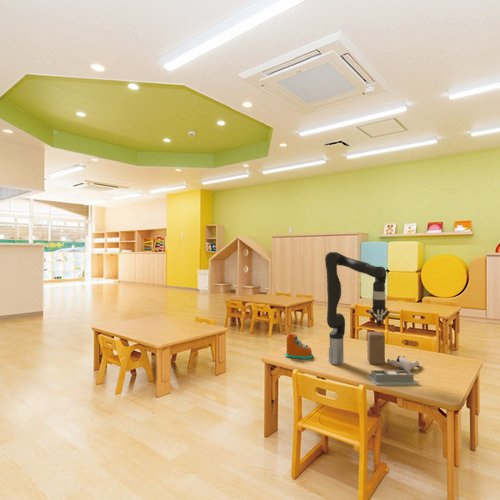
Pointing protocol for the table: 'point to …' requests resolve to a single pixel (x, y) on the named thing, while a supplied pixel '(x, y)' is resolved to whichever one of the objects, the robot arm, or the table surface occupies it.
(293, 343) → the toy shoe
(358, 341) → the table surface
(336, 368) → the table surface
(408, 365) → the yeti figurine
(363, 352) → the table surface
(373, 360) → the wooden block
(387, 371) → the key grey
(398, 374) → the keypad board
